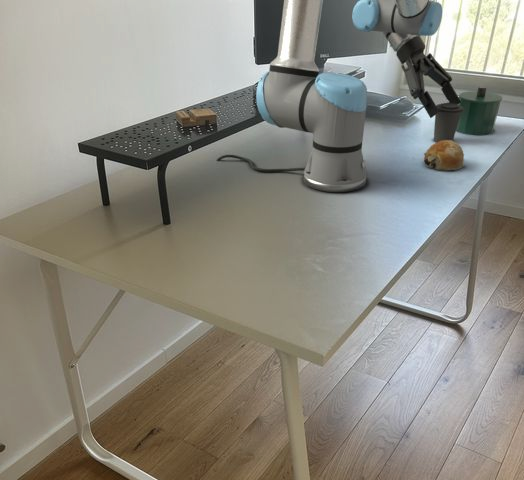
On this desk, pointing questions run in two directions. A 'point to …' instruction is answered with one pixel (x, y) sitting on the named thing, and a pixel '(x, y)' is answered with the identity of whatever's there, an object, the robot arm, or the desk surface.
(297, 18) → the robot arm
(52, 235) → the desk surface
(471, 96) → the pot lid
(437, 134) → the coffee cup
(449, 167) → the bread roll
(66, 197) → the desk surface
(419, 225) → the desk surface
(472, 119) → the pot
